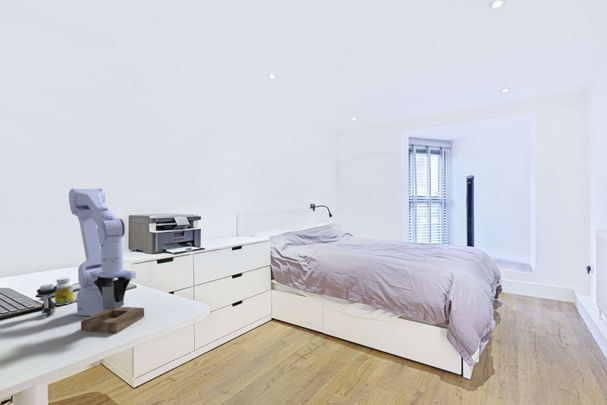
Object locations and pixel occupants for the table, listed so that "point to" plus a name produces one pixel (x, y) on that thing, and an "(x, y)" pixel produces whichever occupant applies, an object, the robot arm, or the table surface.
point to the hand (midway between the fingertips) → (113, 300)
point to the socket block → (112, 320)
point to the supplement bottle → (64, 291)
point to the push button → (47, 299)
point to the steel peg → (110, 298)
